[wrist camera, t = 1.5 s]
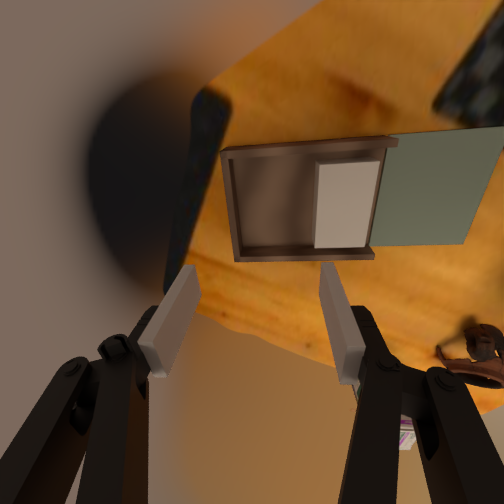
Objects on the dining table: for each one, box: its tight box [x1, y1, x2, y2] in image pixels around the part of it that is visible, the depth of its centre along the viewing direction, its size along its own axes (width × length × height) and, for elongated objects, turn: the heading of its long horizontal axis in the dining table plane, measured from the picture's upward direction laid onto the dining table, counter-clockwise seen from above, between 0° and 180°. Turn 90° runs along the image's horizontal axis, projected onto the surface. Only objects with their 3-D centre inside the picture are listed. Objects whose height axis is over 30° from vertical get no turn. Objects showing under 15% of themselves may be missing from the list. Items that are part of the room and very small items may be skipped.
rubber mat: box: [368, 126, 504, 246], centre depth 29 cm, size 12×14×1 cm
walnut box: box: [220, 135, 399, 262], centre depth 29 cm, size 18×14×4 cm
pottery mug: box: [437, 324, 504, 389], centre depth 39 cm, size 12×10×8 cm
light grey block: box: [312, 157, 380, 248], centre depth 28 cm, size 6×10×3 cm, turn 5°
